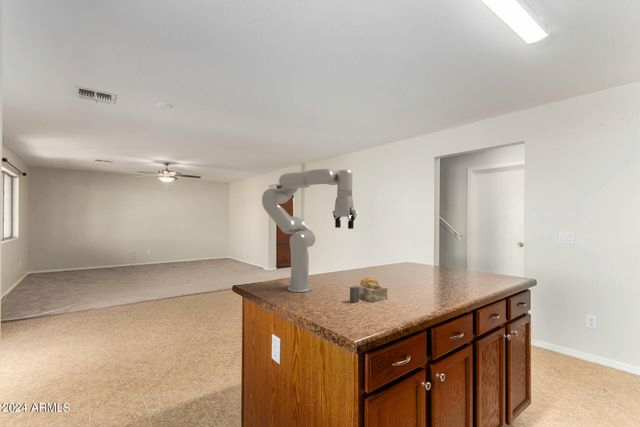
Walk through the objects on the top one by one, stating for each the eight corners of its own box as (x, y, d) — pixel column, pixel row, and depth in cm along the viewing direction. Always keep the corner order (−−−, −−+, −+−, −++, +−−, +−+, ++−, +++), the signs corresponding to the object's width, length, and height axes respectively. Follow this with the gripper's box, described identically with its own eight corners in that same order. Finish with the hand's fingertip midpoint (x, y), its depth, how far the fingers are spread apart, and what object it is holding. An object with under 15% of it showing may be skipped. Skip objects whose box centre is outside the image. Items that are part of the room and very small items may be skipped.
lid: (337, 302, 152) (337, 285, 152) (352, 299, 158) (353, 283, 158) (355, 309, 142) (356, 291, 142) (371, 305, 148) (372, 288, 148)
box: (356, 297, 159) (356, 285, 159) (368, 294, 164) (369, 283, 164) (374, 303, 149) (374, 290, 149) (387, 300, 155) (387, 288, 155)
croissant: (382, 301, 165) (389, 287, 166) (367, 293, 163) (374, 279, 164) (366, 290, 186) (372, 277, 187) (352, 283, 183) (358, 270, 184)
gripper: (328, 194, 167) (327, 227, 167) (350, 193, 153) (350, 229, 153) (338, 195, 171) (338, 227, 172) (362, 194, 158) (361, 228, 158)
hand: (344, 228), depth 162 cm, fingers open, 9 cm apart
